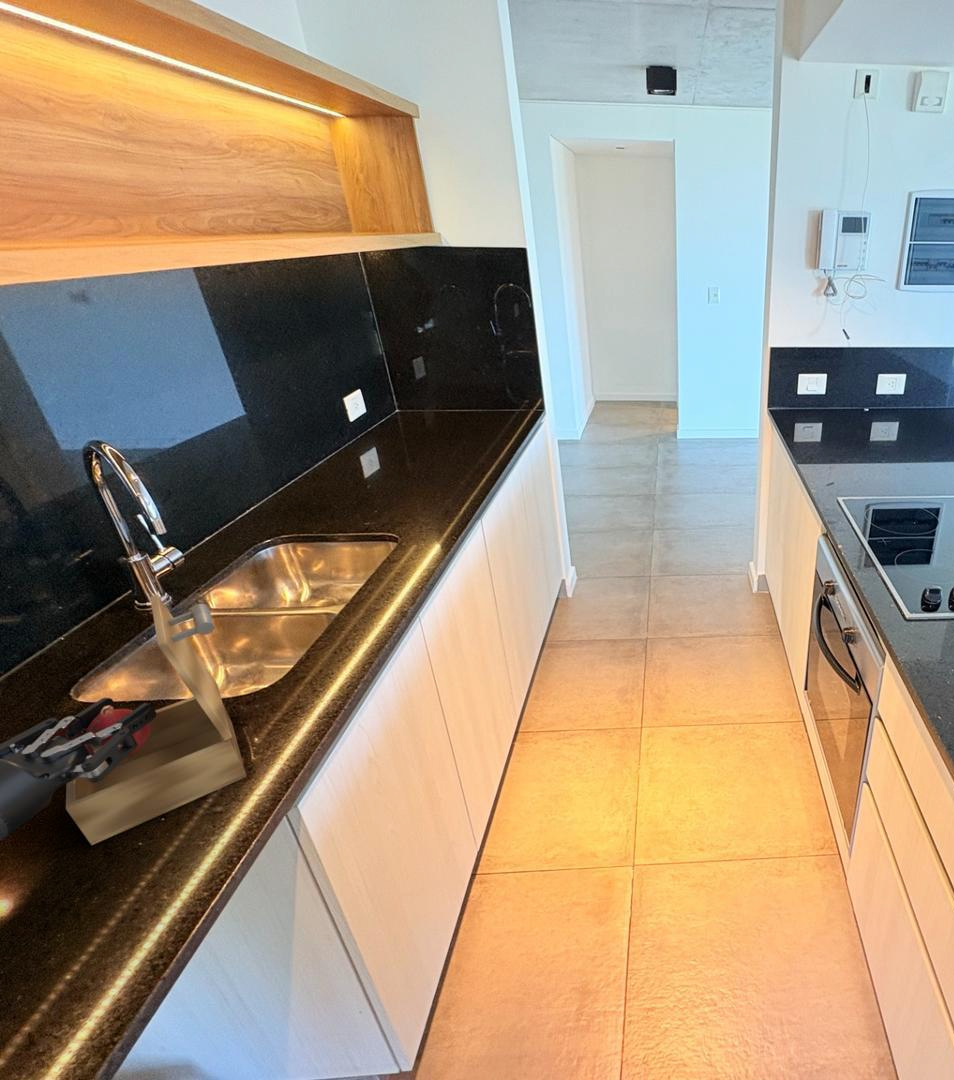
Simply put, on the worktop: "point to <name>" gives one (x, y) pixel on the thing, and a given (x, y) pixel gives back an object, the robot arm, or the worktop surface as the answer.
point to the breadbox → (157, 773)
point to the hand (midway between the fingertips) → (131, 706)
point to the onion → (110, 718)
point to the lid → (190, 658)
